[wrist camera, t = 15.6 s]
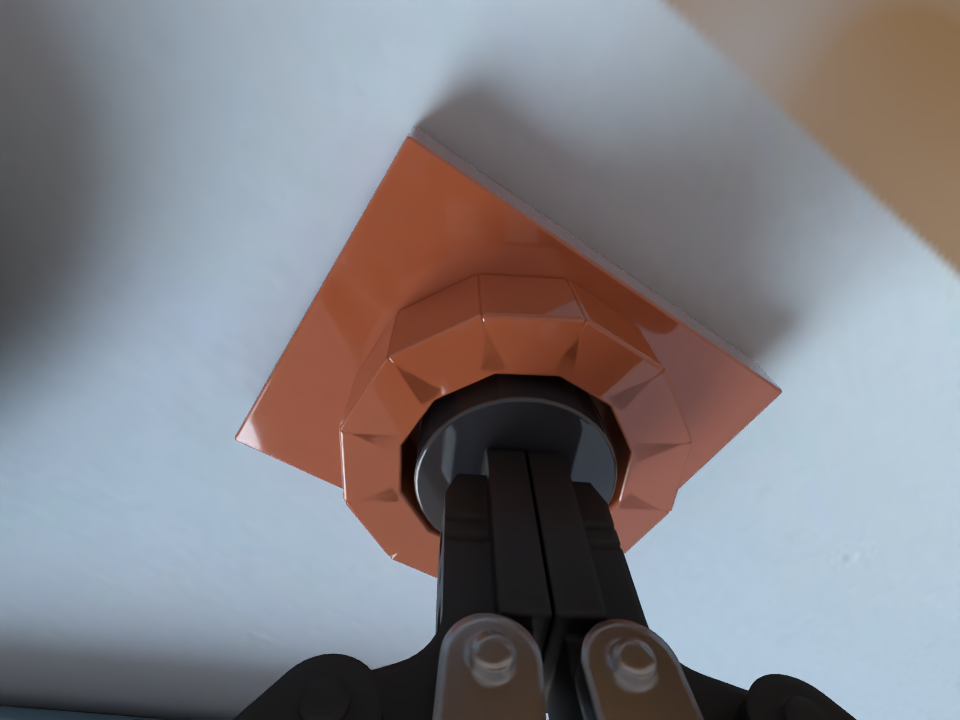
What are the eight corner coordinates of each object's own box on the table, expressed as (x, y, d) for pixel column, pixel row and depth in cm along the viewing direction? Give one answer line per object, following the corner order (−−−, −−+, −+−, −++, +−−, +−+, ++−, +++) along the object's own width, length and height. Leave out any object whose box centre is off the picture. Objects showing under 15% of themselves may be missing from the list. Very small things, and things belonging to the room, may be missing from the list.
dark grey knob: (632, 401, 13) (661, 460, 11) (527, 514, 14) (537, 581, 12) (484, 312, 11) (489, 361, 10) (387, 445, 13) (375, 509, 11)
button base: (754, 360, 14) (835, 445, 11) (561, 551, 17) (582, 659, 14) (413, 125, 11) (397, 153, 8) (253, 404, 14) (198, 500, 11)
